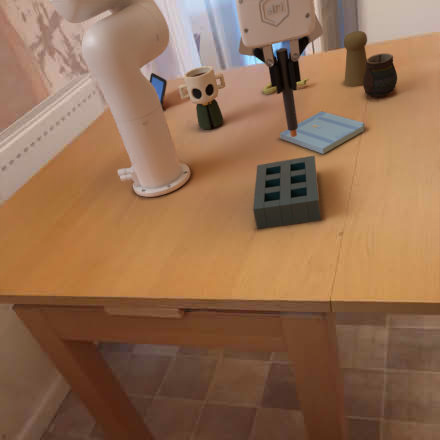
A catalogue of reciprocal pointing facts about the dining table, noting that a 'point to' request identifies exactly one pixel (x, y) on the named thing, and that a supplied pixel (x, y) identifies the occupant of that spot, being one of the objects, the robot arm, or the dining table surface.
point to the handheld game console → (159, 86)
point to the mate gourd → (379, 76)
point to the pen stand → (286, 193)
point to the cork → (355, 58)
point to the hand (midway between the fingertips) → (287, 88)
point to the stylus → (287, 91)
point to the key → (273, 89)
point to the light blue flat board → (324, 132)
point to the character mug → (204, 94)
